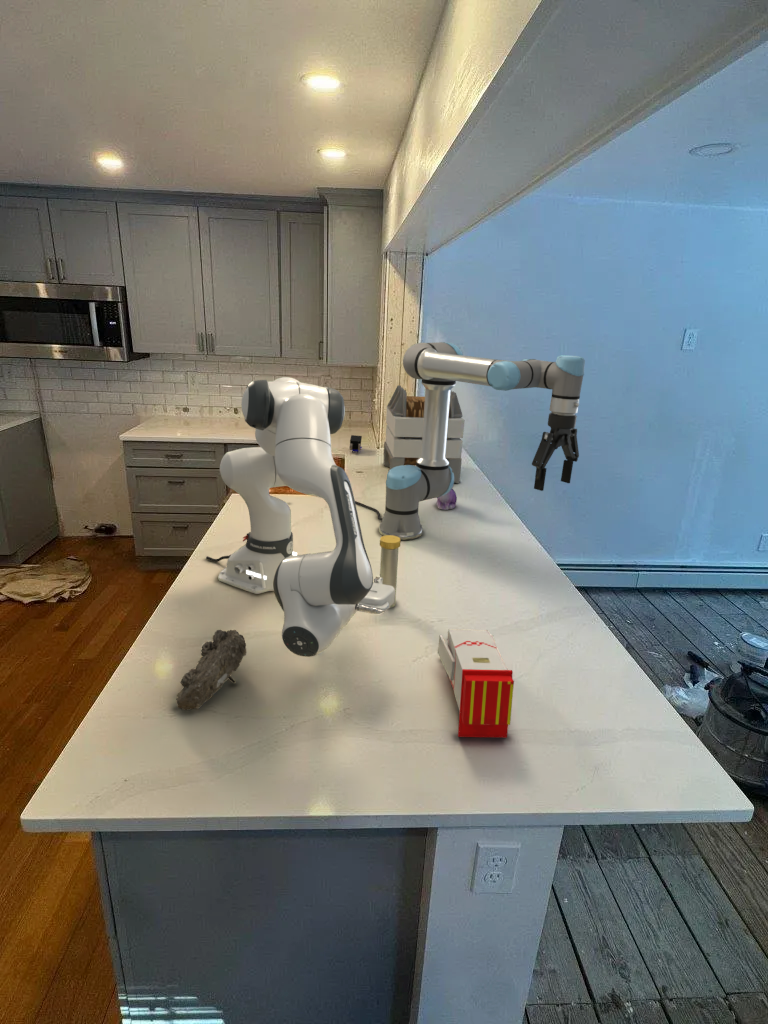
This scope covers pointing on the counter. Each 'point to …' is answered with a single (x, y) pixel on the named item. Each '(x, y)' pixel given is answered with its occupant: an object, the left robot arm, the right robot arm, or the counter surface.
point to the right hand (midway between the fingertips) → (552, 485)
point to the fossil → (212, 669)
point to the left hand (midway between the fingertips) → (359, 576)
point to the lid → (390, 542)
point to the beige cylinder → (389, 568)
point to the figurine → (447, 500)
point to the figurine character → (355, 443)
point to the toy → (478, 682)
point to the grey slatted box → (419, 431)
